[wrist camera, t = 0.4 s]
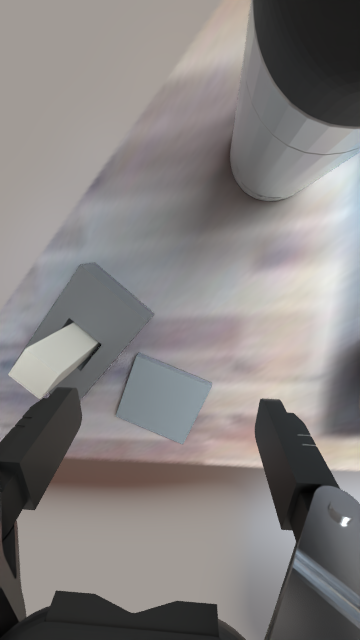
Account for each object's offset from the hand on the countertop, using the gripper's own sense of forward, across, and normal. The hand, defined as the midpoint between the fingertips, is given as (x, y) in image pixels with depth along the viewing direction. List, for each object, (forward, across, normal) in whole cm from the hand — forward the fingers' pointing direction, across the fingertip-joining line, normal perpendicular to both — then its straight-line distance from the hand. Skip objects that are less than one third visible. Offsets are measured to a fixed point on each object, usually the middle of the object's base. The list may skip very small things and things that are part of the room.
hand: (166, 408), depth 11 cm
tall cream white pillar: (+22, +13, +8) cm, 27 cm away
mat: (+20, +2, +17) cm, 26 cm away
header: (+22, +13, +8) cm, 27 cm away
